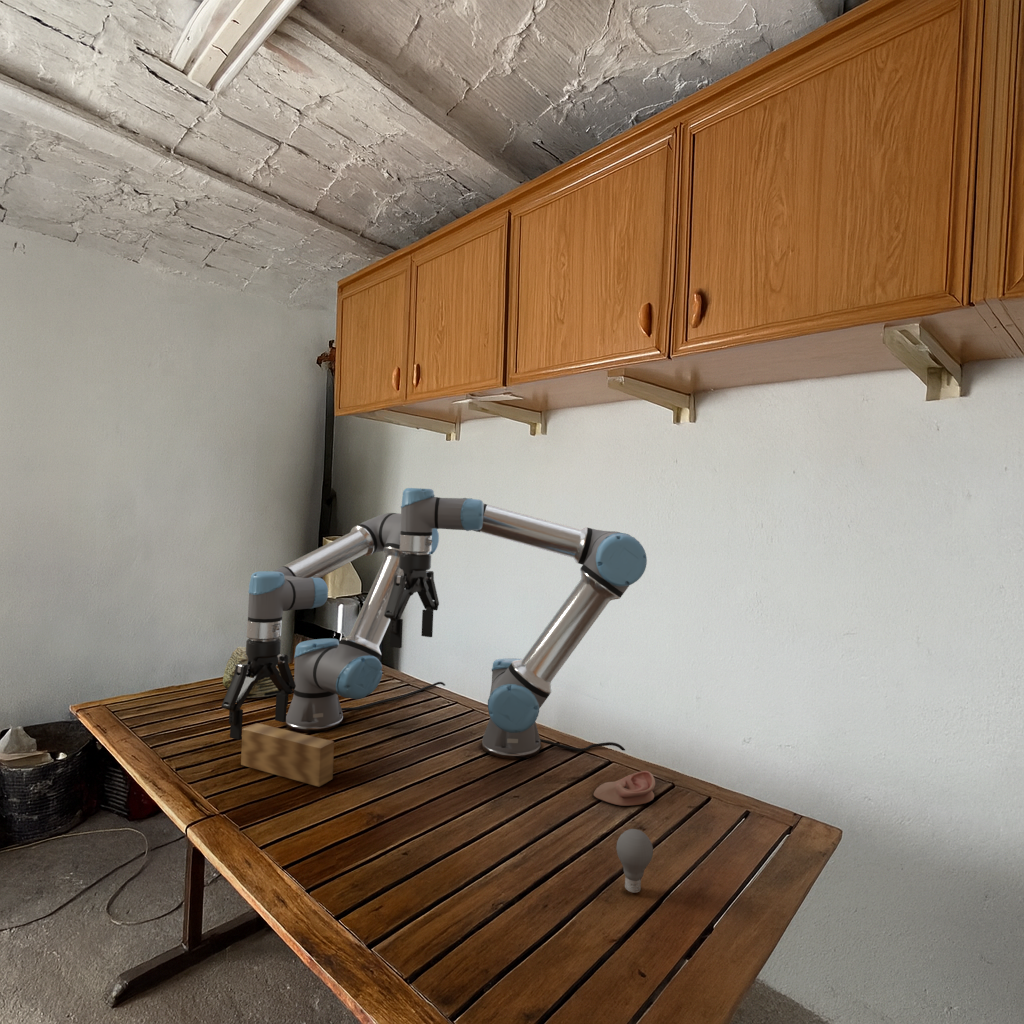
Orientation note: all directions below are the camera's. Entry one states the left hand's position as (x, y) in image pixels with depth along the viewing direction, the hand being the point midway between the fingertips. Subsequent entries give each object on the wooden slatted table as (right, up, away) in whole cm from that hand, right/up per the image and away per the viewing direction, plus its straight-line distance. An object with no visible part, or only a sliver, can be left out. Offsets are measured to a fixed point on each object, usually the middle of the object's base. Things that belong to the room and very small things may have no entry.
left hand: (258, 729), depth 147 cm
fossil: (-22, -7, +51) cm, 55 cm away
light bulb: (+79, -13, -42) cm, 90 cm away
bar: (+7, -9, -3) cm, 12 cm away
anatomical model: (+84, -12, -7) cm, 85 cm away
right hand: (+35, +20, +4) cm, 40 cm away
